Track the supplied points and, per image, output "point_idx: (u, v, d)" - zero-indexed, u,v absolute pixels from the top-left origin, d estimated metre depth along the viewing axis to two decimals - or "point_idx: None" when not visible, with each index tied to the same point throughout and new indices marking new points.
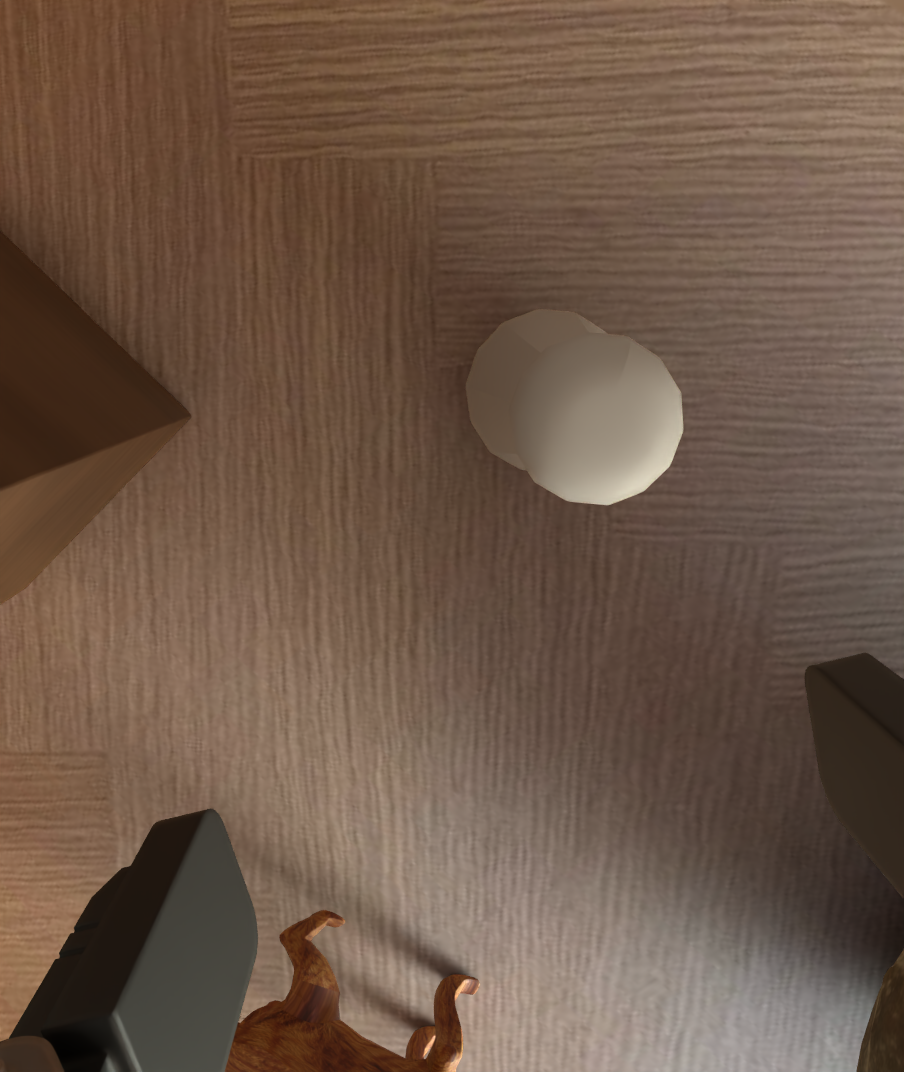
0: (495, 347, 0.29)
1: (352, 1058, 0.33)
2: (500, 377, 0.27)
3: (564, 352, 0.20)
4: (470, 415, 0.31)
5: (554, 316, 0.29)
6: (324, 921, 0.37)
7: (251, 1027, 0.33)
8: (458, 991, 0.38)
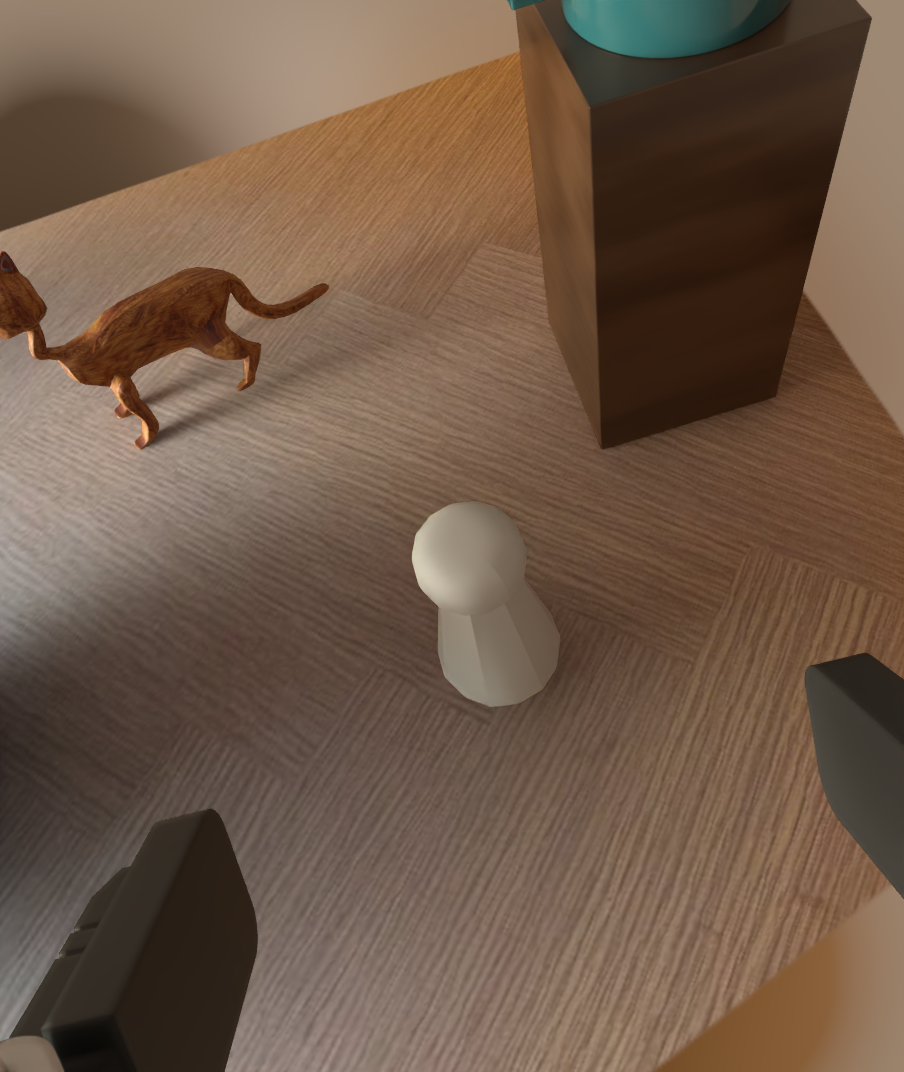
0: (545, 610, 0.39)
1: (167, 334, 0.50)
2: None
3: (518, 543, 0.31)
4: None
5: (546, 659, 0.38)
6: (247, 377, 0.53)
7: (225, 294, 0.50)
8: (145, 430, 0.52)
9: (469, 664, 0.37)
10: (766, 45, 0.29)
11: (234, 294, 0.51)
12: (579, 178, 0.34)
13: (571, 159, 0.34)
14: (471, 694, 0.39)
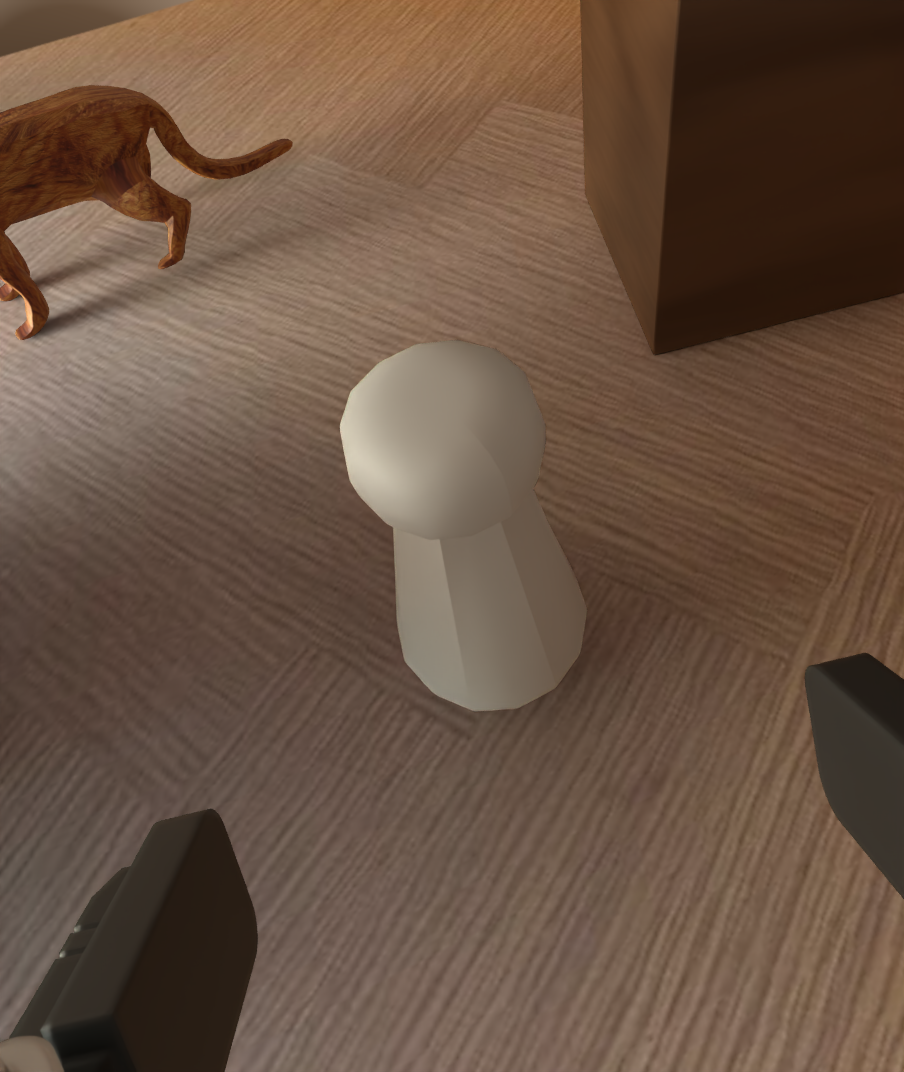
0: (567, 562, 0.25)
1: (55, 172, 0.36)
2: None
3: (531, 408, 0.17)
4: None
5: (564, 638, 0.24)
6: (172, 249, 0.39)
7: (142, 125, 0.36)
8: (29, 312, 0.38)
9: (440, 637, 0.22)
10: None
11: (157, 131, 0.38)
12: None
13: None
14: (443, 689, 0.25)
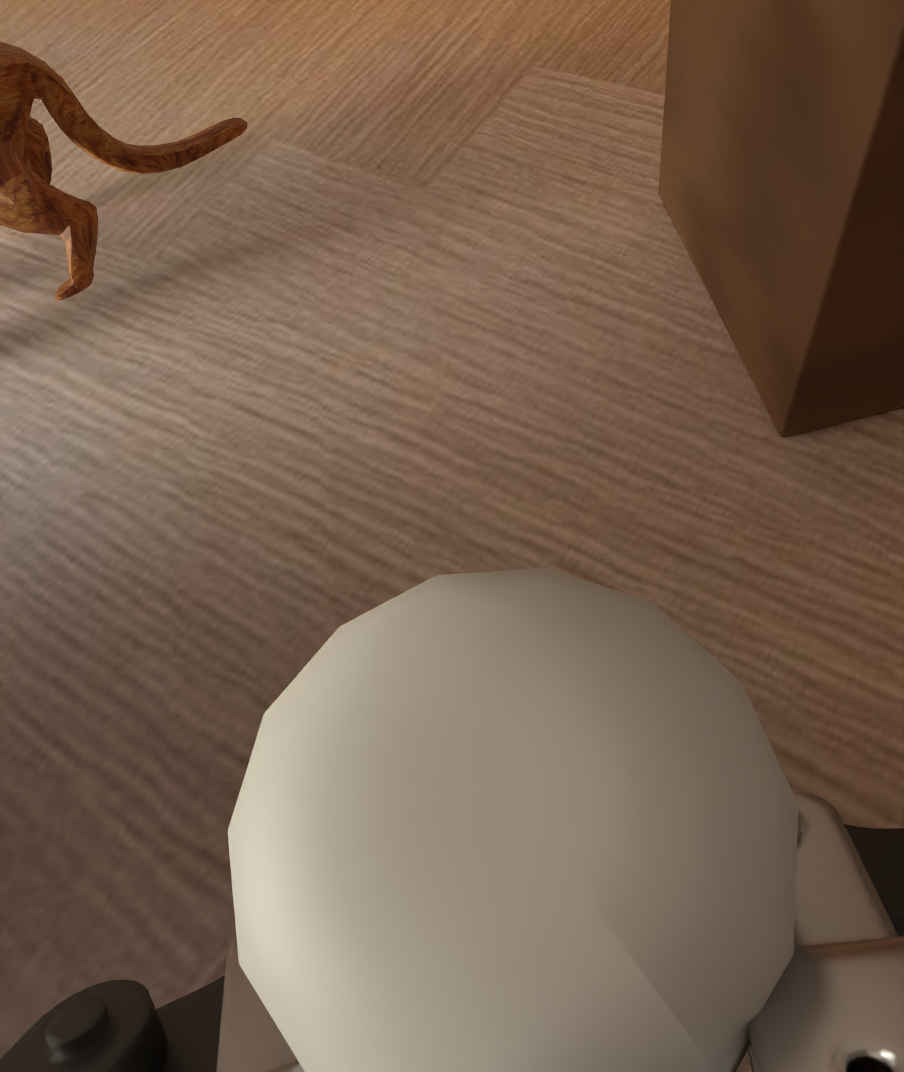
0: None
1: None
2: None
3: (786, 825, 0.06)
4: None
5: None
6: (72, 272, 0.27)
7: (20, 95, 0.25)
8: None
9: None
10: None
11: (46, 104, 0.26)
12: None
13: None
14: None
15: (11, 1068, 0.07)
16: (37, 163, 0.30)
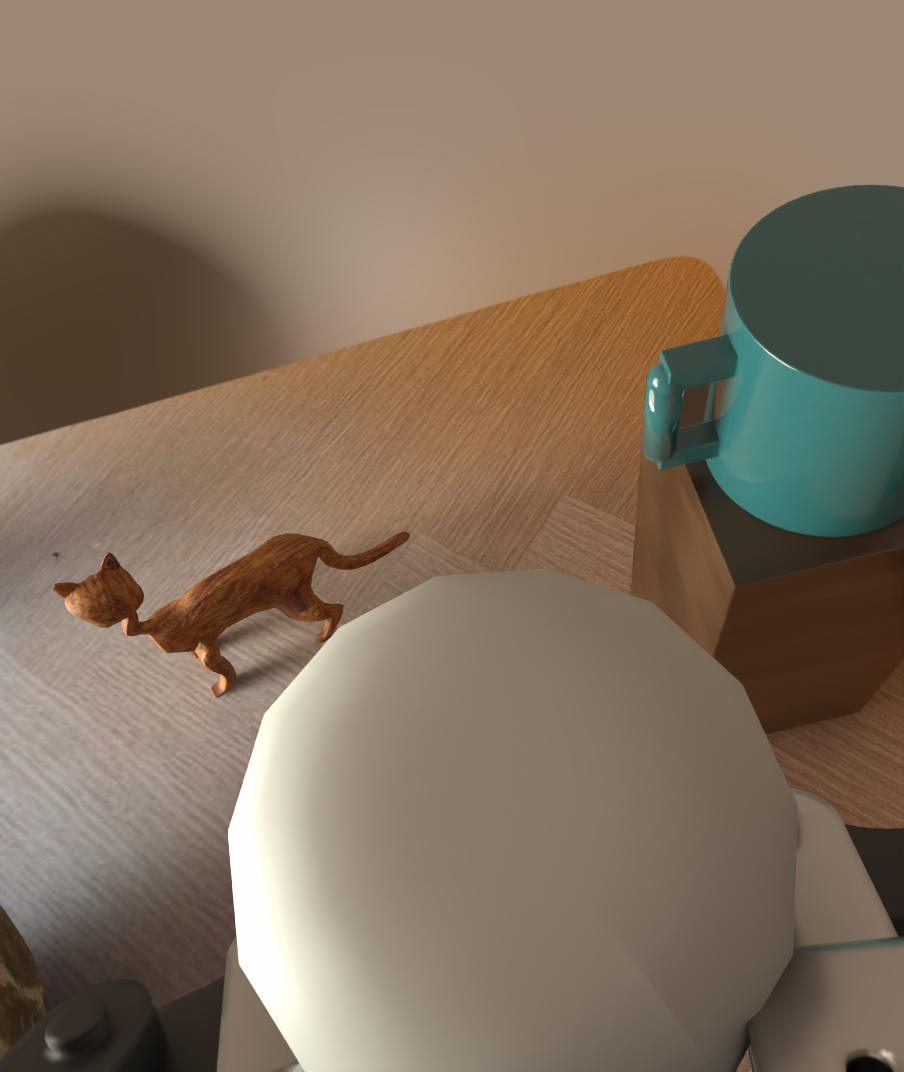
0: None
1: (254, 602, 0.50)
2: None
3: (787, 825, 0.06)
4: None
5: None
6: (327, 633, 0.53)
7: (313, 562, 0.51)
8: (224, 681, 0.53)
9: None
10: None
11: (320, 556, 0.52)
12: (705, 597, 0.34)
13: (697, 575, 0.34)
14: None
15: (11, 1068, 0.07)
16: None
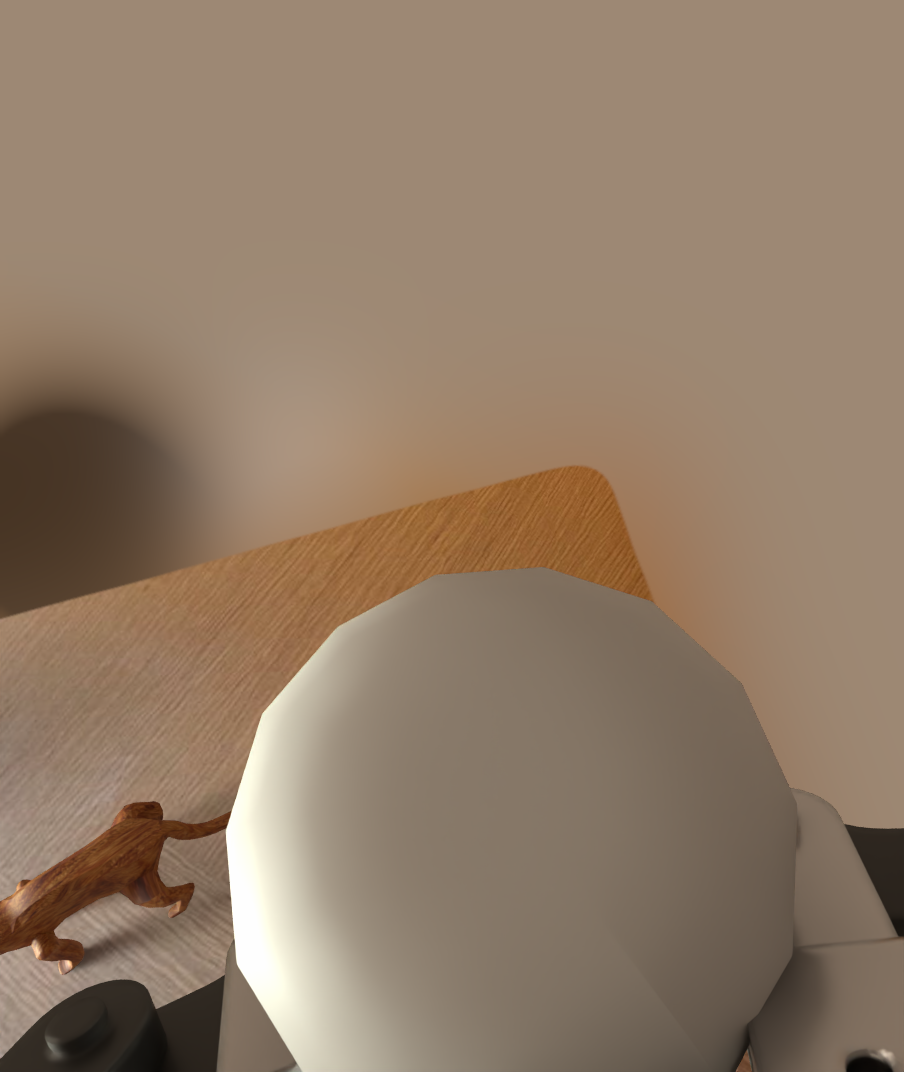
0: None
1: (93, 894, 0.48)
2: None
3: (785, 826, 0.06)
4: None
5: None
6: (179, 909, 0.51)
7: (158, 848, 0.48)
8: (69, 961, 0.50)
9: None
10: None
11: (169, 836, 0.50)
12: None
13: None
14: None
15: (11, 1068, 0.07)
16: None
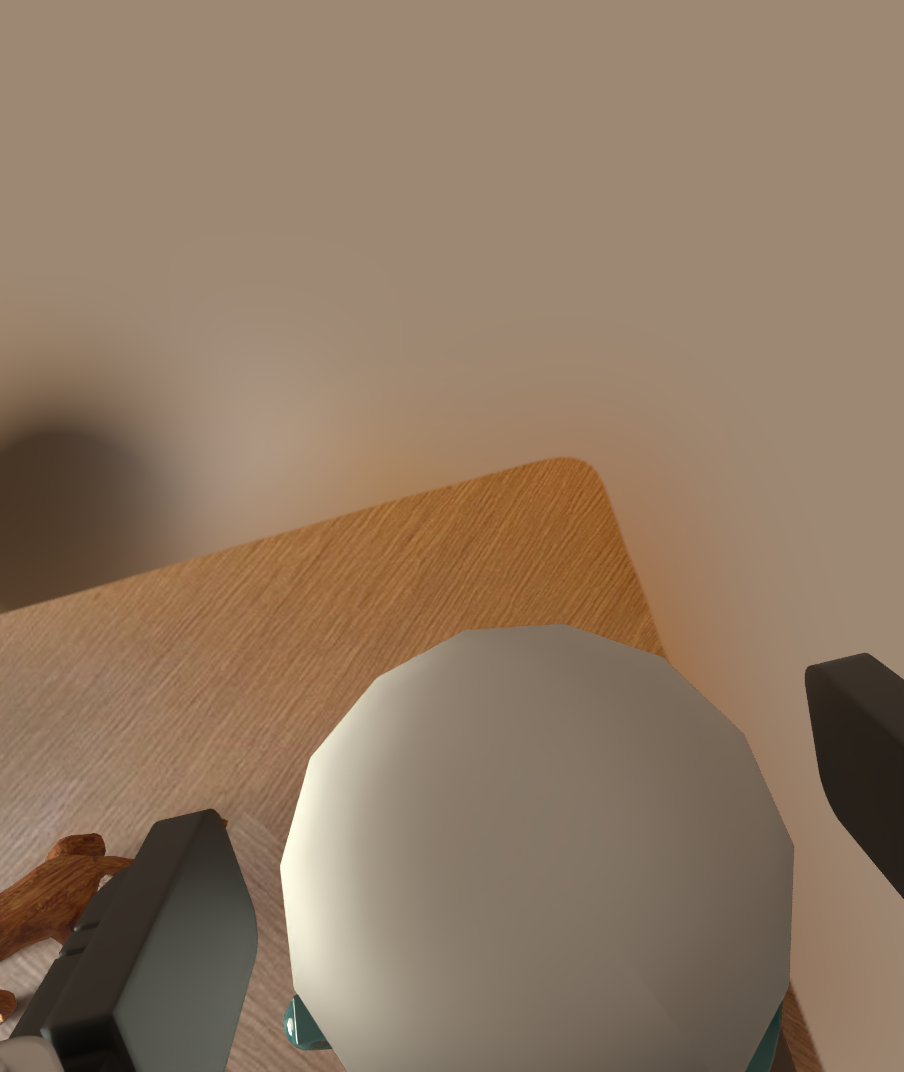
0: None
1: (19, 942, 0.42)
2: None
3: (782, 865, 0.06)
4: None
5: None
6: None
7: (93, 888, 0.43)
8: None
9: None
10: None
11: (107, 874, 0.44)
12: None
13: None
14: None
15: None
16: (97, 854, 0.48)
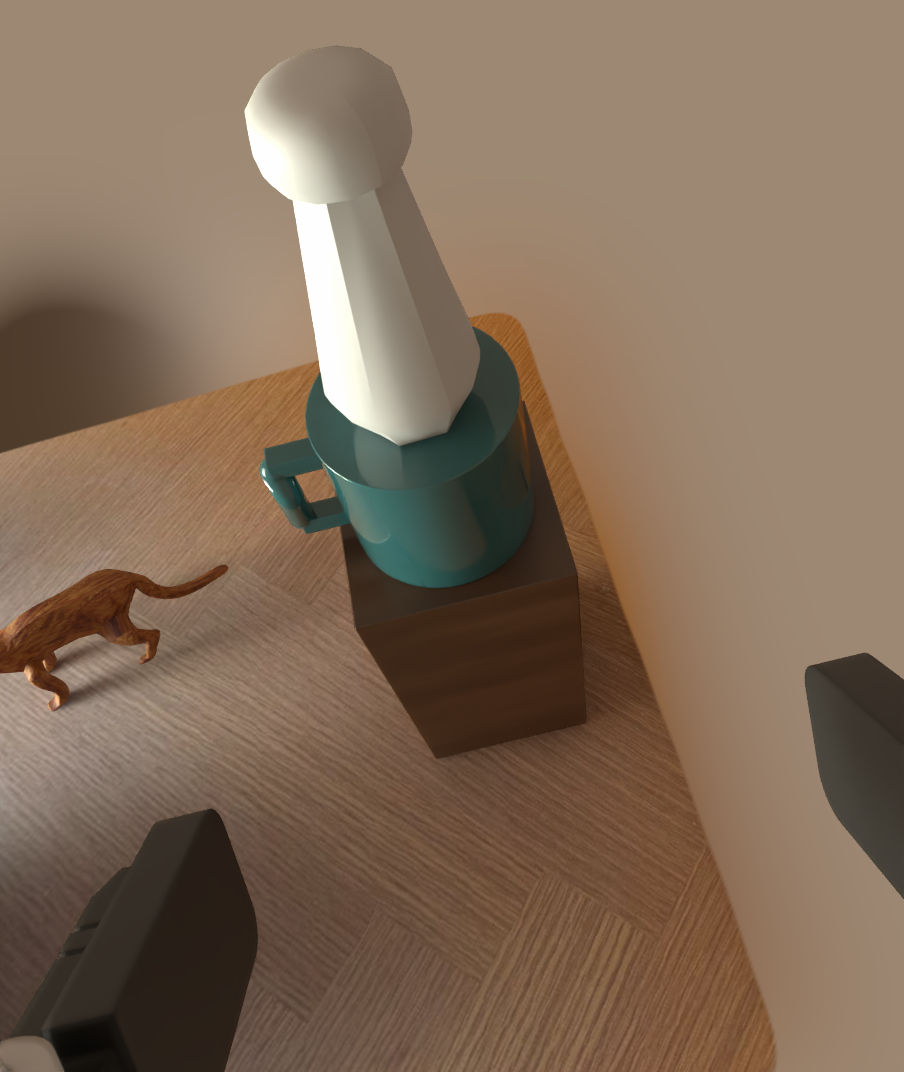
0: (459, 301, 0.29)
1: (75, 629, 0.58)
2: None
3: (393, 87, 0.22)
4: None
5: (454, 358, 0.29)
6: (148, 654, 0.61)
7: (128, 594, 0.58)
8: (57, 697, 0.60)
9: (344, 341, 0.27)
10: (495, 587, 0.37)
11: (138, 588, 0.60)
12: None
13: None
14: (354, 408, 0.29)
15: None
16: None
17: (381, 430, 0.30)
